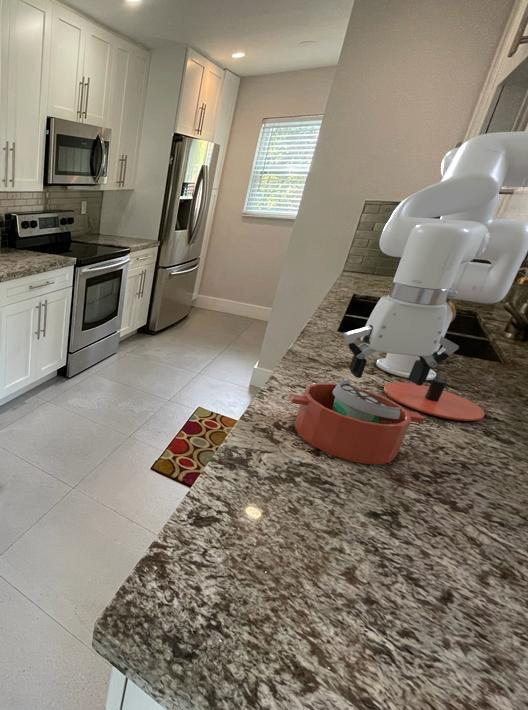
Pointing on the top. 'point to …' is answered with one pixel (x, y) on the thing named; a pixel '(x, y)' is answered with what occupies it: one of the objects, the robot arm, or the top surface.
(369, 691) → the top surface
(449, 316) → the robot arm
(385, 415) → the food container
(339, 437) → the pot
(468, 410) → the lid
